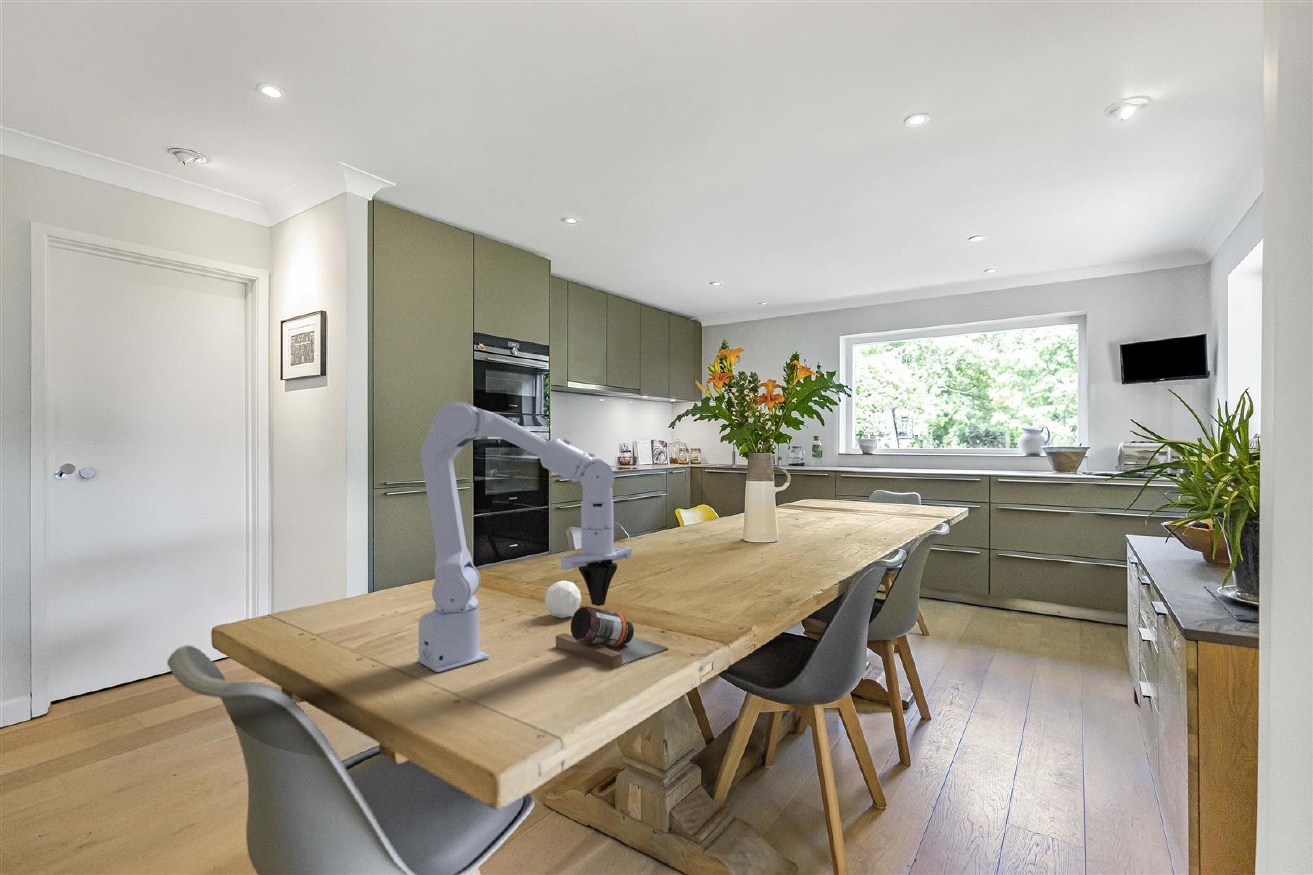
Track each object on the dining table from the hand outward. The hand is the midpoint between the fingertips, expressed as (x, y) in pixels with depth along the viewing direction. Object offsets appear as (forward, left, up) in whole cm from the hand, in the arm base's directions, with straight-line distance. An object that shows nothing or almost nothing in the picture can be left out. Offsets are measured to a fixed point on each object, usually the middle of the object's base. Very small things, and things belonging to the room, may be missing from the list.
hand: (598, 604), depth 105 cm
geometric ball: (+9, +23, -9) cm, 26 cm away
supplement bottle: (-5, 0, -2) cm, 5 cm away
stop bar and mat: (+3, 0, -8) cm, 9 cm away
